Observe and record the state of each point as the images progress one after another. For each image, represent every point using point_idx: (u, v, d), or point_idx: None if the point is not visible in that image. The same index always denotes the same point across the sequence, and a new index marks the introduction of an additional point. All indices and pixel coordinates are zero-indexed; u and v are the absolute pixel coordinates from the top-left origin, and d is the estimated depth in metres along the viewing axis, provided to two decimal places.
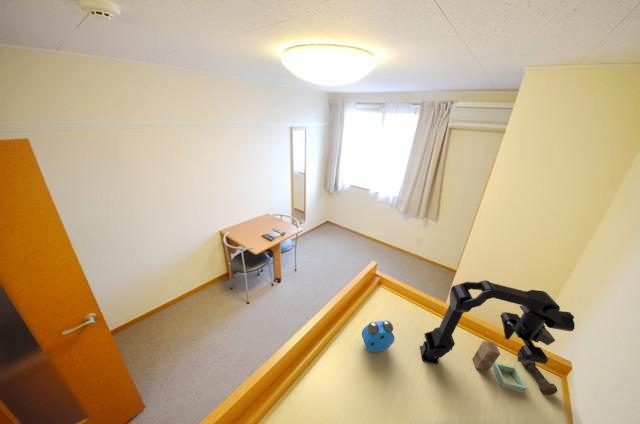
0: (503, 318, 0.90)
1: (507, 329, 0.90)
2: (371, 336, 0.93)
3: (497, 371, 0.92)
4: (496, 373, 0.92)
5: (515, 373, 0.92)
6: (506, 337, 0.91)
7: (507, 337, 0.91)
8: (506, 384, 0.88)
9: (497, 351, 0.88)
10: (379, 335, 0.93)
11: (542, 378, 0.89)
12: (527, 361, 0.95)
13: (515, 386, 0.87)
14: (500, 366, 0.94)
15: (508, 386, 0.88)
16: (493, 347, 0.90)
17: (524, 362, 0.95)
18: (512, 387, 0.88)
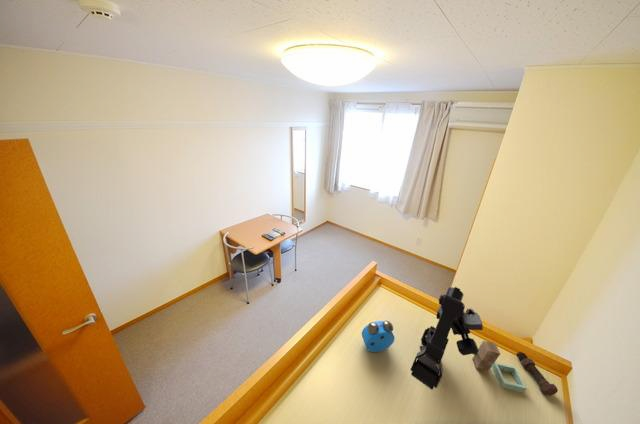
0: None
1: None
2: (371, 336, 0.93)
3: (497, 371, 0.92)
4: (496, 373, 0.92)
5: (515, 373, 0.92)
6: None
7: None
8: (506, 384, 0.88)
9: (497, 351, 0.88)
10: (379, 335, 0.93)
11: (542, 378, 0.89)
12: (527, 361, 0.95)
13: (515, 386, 0.87)
14: (500, 366, 0.94)
15: (508, 386, 0.88)
16: (493, 347, 0.90)
17: (524, 362, 0.95)
18: (512, 387, 0.88)
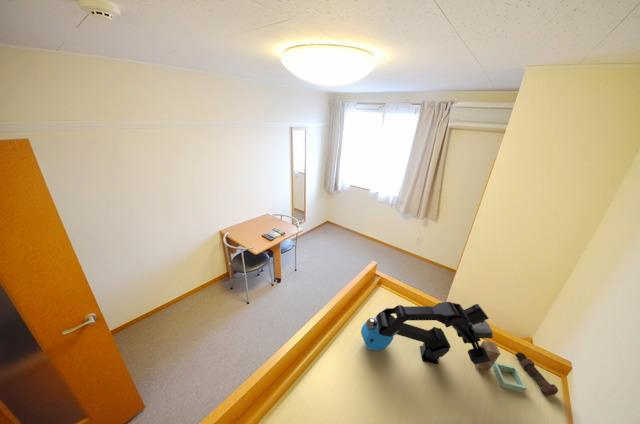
0: None
1: None
2: (370, 331, 0.94)
3: (497, 371, 0.92)
4: (496, 373, 0.92)
5: (515, 373, 0.92)
6: None
7: None
8: (506, 384, 0.88)
9: (497, 351, 0.88)
10: (378, 330, 0.94)
11: (542, 379, 0.89)
12: (526, 362, 0.94)
13: (515, 386, 0.87)
14: (500, 366, 0.94)
15: (508, 386, 0.88)
16: (493, 347, 0.90)
17: (523, 363, 0.95)
18: (512, 387, 0.88)
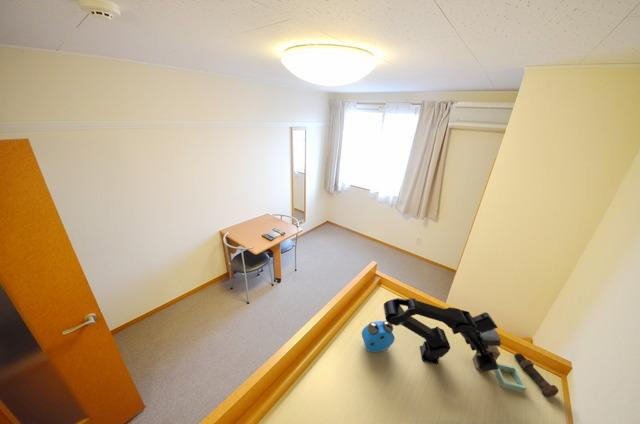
0: None
1: None
2: (371, 336, 0.93)
3: (497, 371, 0.92)
4: (496, 373, 0.92)
5: (515, 373, 0.92)
6: None
7: None
8: (506, 384, 0.88)
9: (497, 351, 0.88)
10: (379, 335, 0.93)
11: (542, 380, 0.89)
12: (526, 363, 0.94)
13: (515, 386, 0.87)
14: (500, 366, 0.94)
15: (508, 386, 0.88)
16: (493, 347, 0.90)
17: (523, 364, 0.94)
18: (512, 387, 0.88)
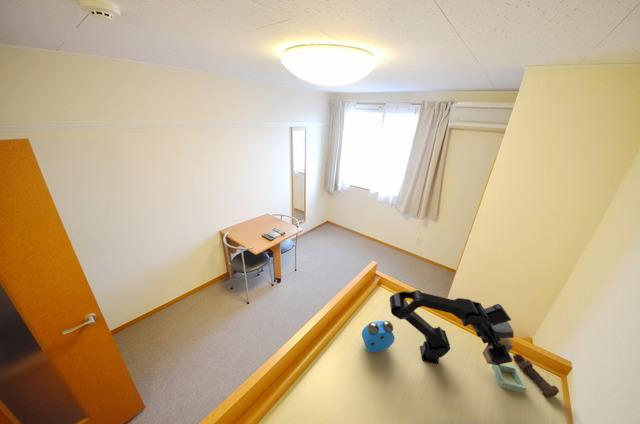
0: None
1: None
2: (371, 336, 0.93)
3: (497, 371, 0.92)
4: (496, 373, 0.92)
5: (515, 373, 0.92)
6: None
7: None
8: (506, 384, 0.88)
9: (509, 343, 0.85)
10: (379, 335, 0.93)
11: (543, 381, 0.88)
12: (525, 364, 0.94)
13: (515, 386, 0.87)
14: (500, 366, 0.94)
15: (508, 386, 0.88)
16: (505, 340, 0.86)
17: (522, 366, 0.94)
18: (512, 387, 0.88)
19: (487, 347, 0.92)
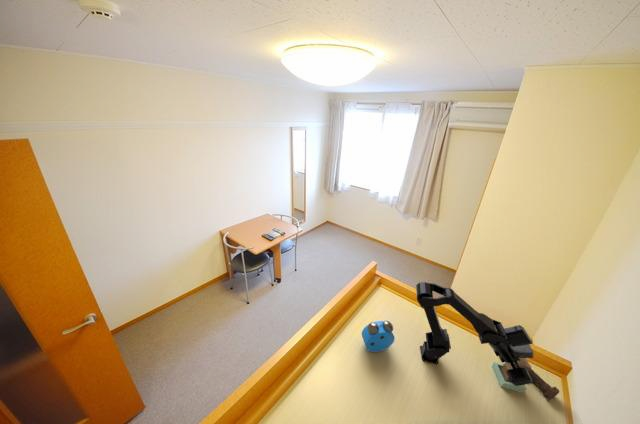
0: None
1: None
2: (371, 336, 0.93)
3: (497, 371, 0.92)
4: (496, 373, 0.92)
5: None
6: None
7: None
8: (506, 384, 0.88)
9: (528, 365, 0.84)
10: (379, 335, 0.93)
11: (543, 382, 0.88)
12: None
13: (515, 386, 0.87)
14: (500, 366, 0.94)
15: (508, 386, 0.88)
16: (523, 361, 0.85)
17: None
18: (512, 387, 0.88)
19: (503, 367, 0.91)
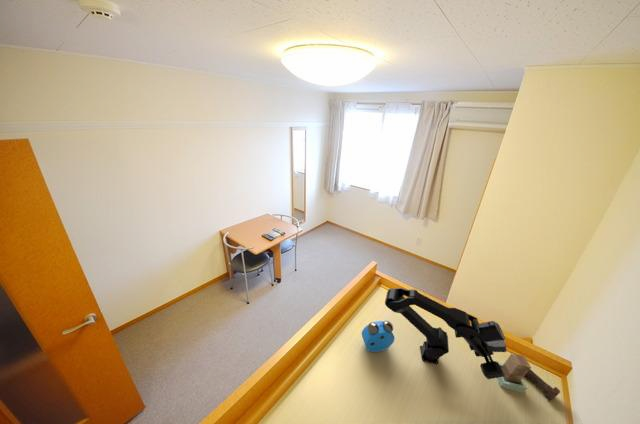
0: None
1: None
2: (371, 336, 0.93)
3: None
4: None
5: None
6: None
7: None
8: (506, 384, 0.88)
9: (527, 365, 0.84)
10: (379, 335, 0.93)
11: (544, 383, 0.87)
12: None
13: (515, 386, 0.87)
14: None
15: (508, 386, 0.88)
16: (522, 361, 0.85)
17: None
18: (512, 387, 0.88)
19: (503, 367, 0.91)
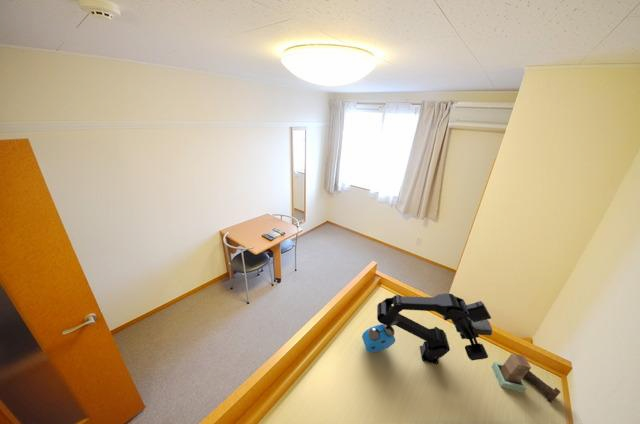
0: None
1: None
2: (372, 342, 0.91)
3: (497, 371, 0.92)
4: (496, 373, 0.92)
5: None
6: None
7: None
8: (506, 384, 0.88)
9: (527, 365, 0.84)
10: (380, 340, 0.91)
11: (544, 385, 0.87)
12: None
13: (515, 386, 0.87)
14: (500, 366, 0.94)
15: (508, 386, 0.88)
16: (522, 361, 0.85)
17: None
18: (512, 387, 0.88)
19: (503, 367, 0.91)
